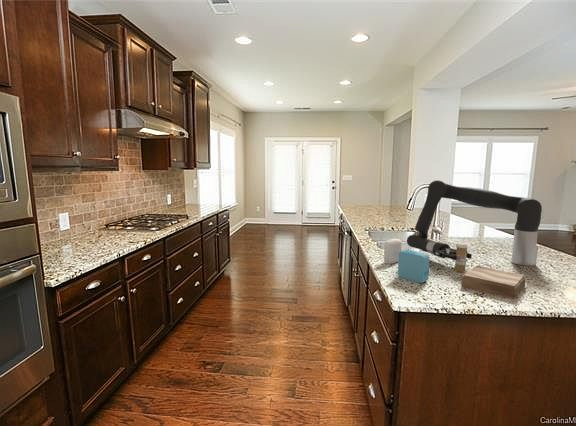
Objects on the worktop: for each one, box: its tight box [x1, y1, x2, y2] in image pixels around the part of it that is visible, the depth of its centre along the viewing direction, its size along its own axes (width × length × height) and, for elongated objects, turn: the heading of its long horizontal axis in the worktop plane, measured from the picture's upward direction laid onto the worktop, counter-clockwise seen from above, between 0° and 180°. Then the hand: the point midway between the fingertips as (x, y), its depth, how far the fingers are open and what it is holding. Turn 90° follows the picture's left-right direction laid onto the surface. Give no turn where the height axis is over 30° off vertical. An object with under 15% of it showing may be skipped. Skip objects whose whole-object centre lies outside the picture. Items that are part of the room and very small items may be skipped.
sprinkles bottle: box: [454, 241, 469, 273], centre depth 145 cm, size 5×5×13 cm
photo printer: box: [383, 238, 403, 265], centre depth 159 cm, size 10×4×12 cm, turn 123°
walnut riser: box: [460, 265, 526, 301], centre depth 126 cm, size 18×18×5 cm
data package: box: [397, 249, 430, 284], centre depth 135 cm, size 12×4×12 cm, turn 40°
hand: (463, 257), depth 144 cm, fingers open, 8 cm apart
